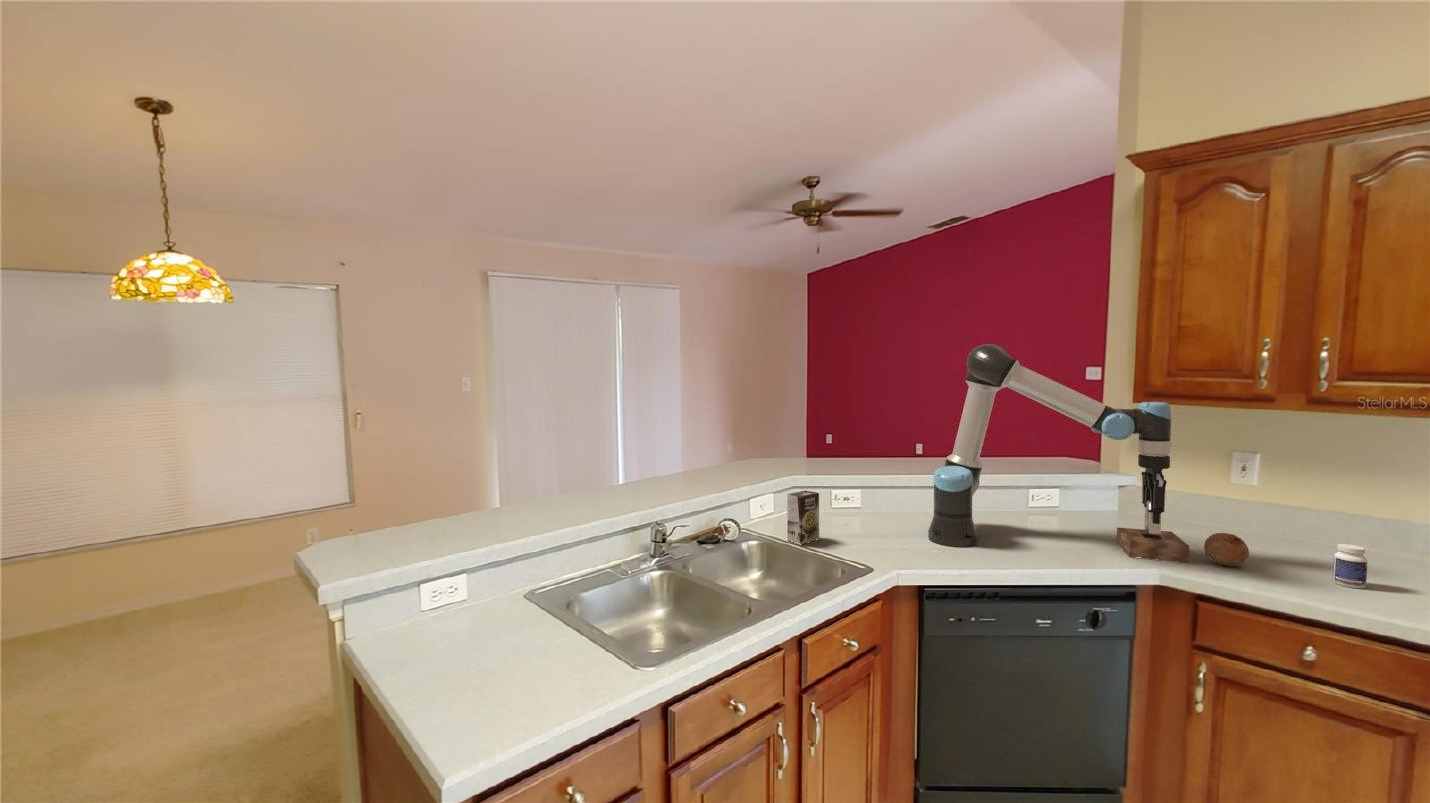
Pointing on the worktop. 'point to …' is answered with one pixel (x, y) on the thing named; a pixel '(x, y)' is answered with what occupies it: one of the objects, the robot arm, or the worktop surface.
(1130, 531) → the wooden block with hole
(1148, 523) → the steel pin
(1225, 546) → the kiwi fruit
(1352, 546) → the pill bottle
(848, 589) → the worktop surface
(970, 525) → the robot arm
